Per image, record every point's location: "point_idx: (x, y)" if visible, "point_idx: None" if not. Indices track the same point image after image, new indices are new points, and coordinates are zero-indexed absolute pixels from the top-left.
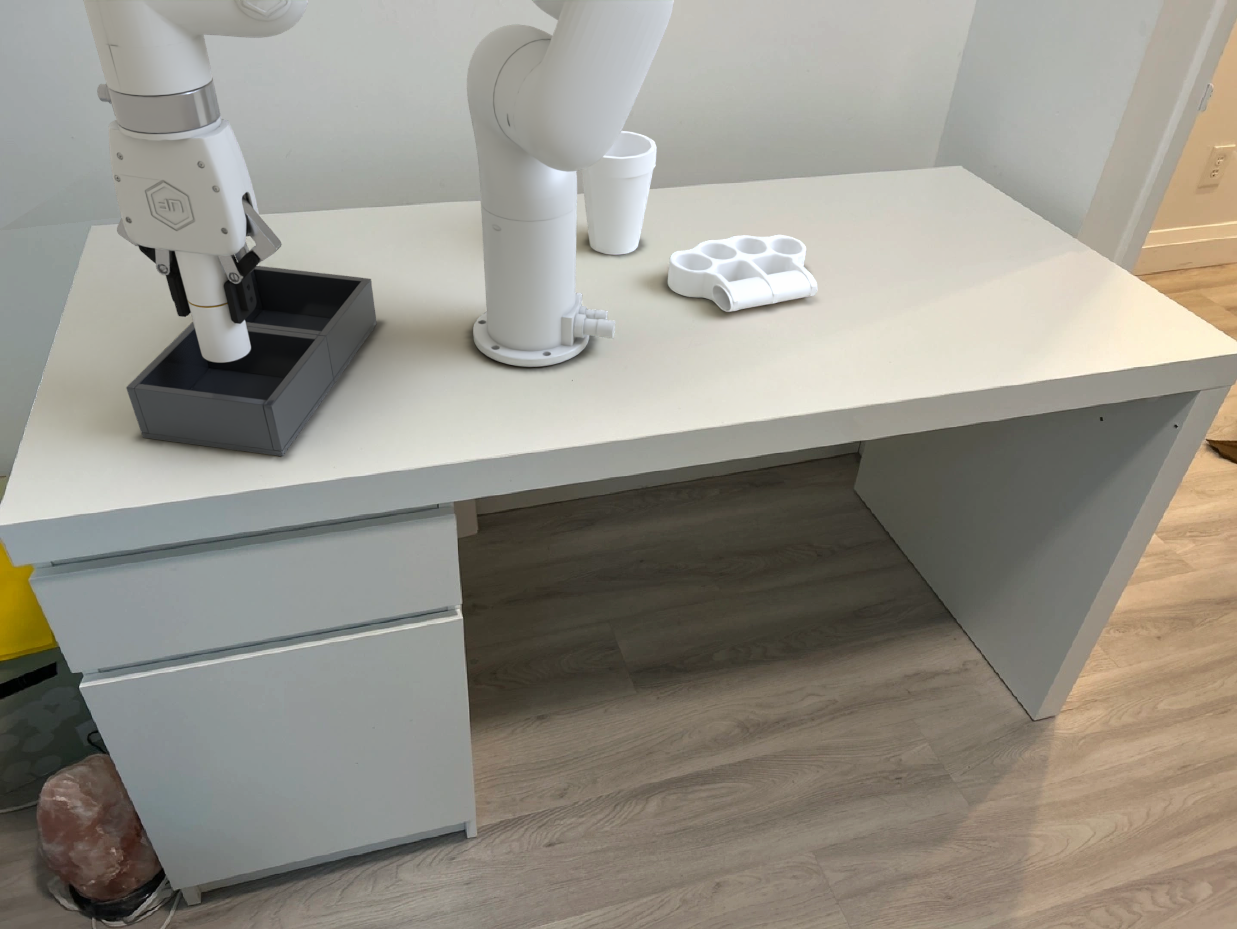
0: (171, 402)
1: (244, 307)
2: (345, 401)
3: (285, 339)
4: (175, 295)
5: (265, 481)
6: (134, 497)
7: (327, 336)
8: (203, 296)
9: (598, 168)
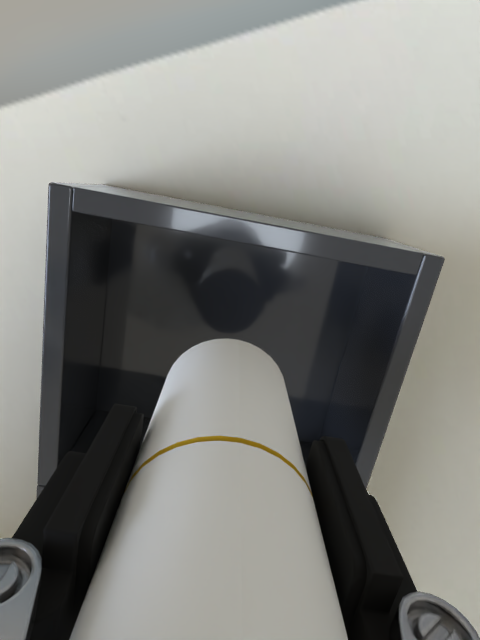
0: (326, 232)
1: (76, 457)
2: None
3: None
4: (355, 496)
5: (108, 98)
6: (355, 34)
7: (37, 486)
8: (210, 471)
9: None
